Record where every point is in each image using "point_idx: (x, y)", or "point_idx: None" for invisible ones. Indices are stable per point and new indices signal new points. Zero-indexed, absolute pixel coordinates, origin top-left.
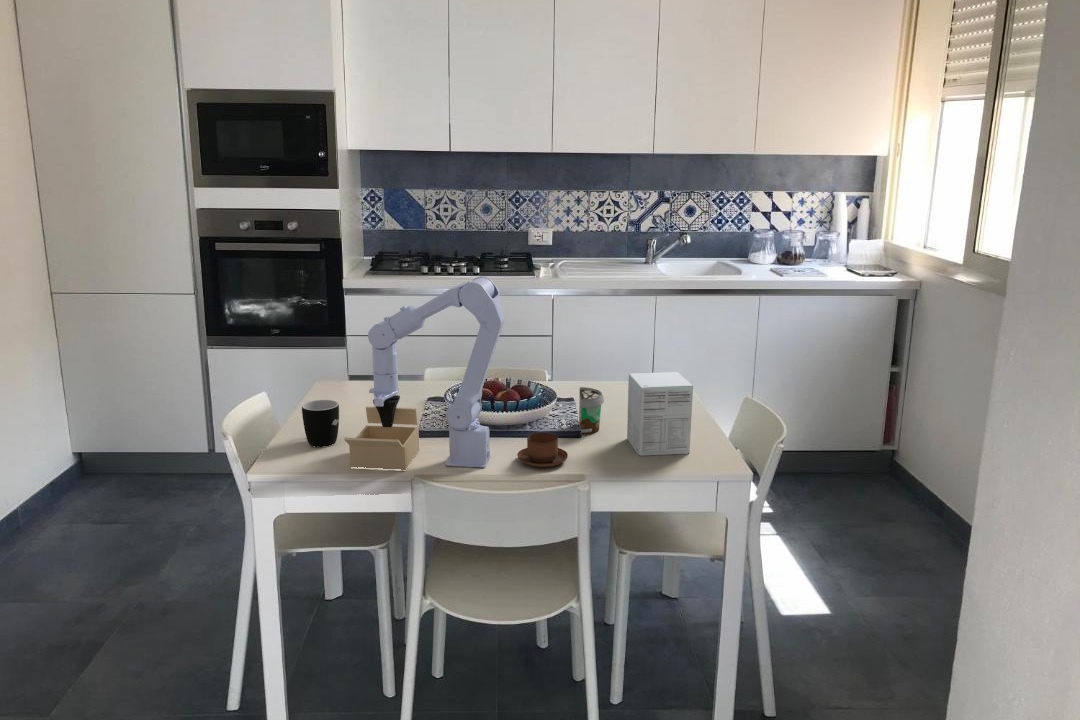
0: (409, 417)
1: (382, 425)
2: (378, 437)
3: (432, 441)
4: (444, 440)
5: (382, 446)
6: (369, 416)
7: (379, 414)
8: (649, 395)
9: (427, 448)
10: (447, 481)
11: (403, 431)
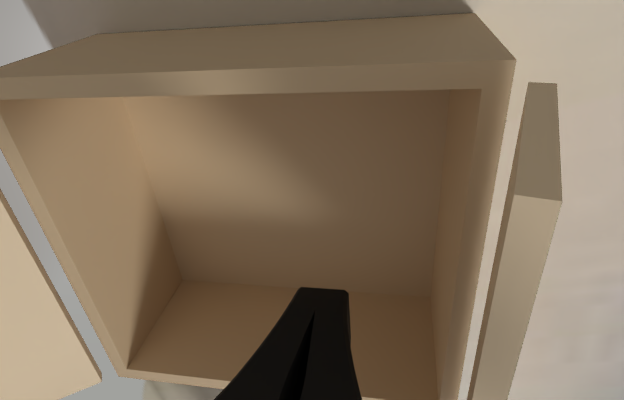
0: None
1: (296, 295)
2: (457, 139)
3: (590, 336)
4: (598, 376)
5: (56, 295)
6: (516, 153)
7: (228, 384)
8: None
9: (476, 325)
10: (155, 389)
11: (442, 328)
